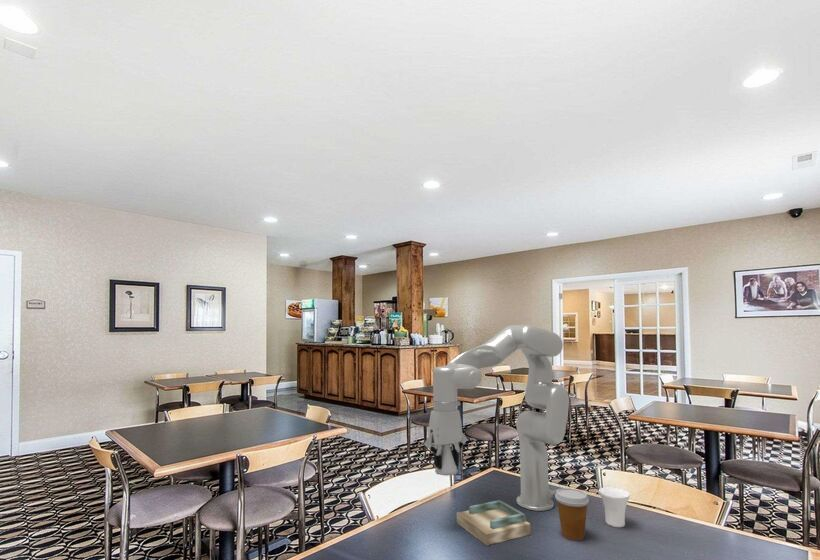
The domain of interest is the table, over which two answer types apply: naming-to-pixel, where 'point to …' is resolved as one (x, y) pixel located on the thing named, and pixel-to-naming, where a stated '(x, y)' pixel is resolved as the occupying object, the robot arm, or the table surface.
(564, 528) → the disposable coffee cup
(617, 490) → the cup
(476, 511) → the dock
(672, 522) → the table surface
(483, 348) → the robot arm
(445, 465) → the flask
